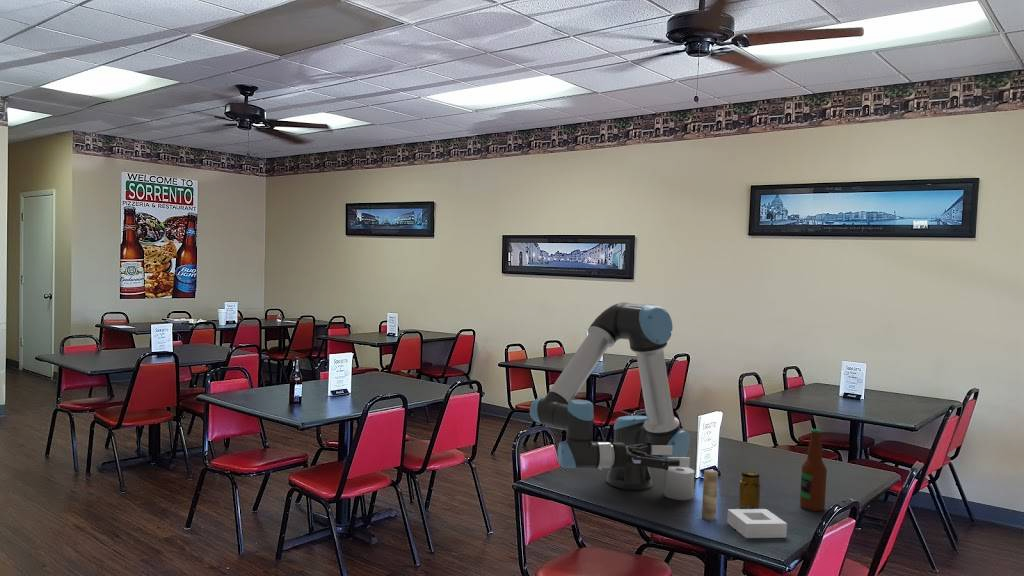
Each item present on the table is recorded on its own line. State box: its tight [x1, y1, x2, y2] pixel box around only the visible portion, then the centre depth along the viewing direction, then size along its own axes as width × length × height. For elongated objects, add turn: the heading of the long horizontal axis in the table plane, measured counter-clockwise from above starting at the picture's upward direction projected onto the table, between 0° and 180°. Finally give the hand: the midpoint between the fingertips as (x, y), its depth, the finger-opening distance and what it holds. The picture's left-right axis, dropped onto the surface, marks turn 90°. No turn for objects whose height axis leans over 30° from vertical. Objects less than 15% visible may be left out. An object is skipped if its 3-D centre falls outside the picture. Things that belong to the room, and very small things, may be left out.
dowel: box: [701, 469, 719, 521], centre depth 216 cm, size 4×4×14 cm
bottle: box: [799, 428, 828, 512], centre depth 230 cm, size 7×7×25 cm
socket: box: [726, 508, 788, 539], centre depth 208 cm, size 12×12×4 cm
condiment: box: [738, 470, 761, 509], centre depth 223 cm, size 7×8×12 cm
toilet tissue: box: [663, 467, 695, 501], centre depth 239 cm, size 9×13×9 cm
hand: (680, 456), depth 214 cm, fingers open, 13 cm apart
